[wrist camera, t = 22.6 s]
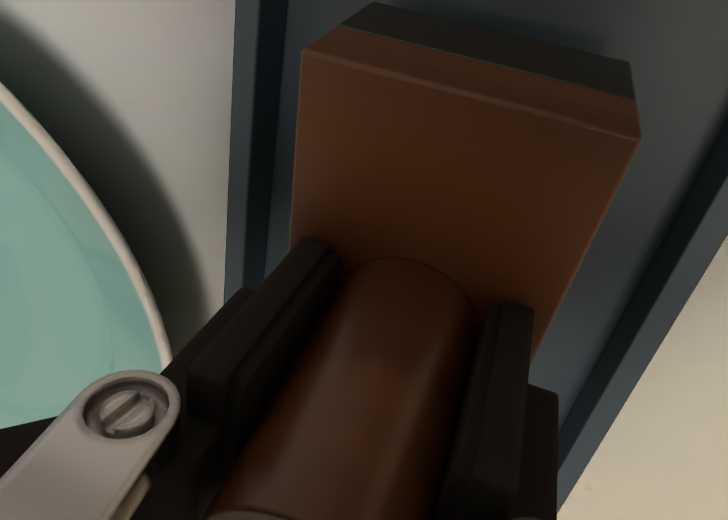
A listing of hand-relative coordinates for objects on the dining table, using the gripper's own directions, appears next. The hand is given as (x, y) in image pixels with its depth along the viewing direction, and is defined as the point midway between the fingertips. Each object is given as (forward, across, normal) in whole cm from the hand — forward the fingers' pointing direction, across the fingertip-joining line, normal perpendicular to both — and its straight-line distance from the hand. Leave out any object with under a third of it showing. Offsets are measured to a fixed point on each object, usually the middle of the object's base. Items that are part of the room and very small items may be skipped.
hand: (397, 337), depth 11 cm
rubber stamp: (+4, 0, -1) cm, 4 cm away
